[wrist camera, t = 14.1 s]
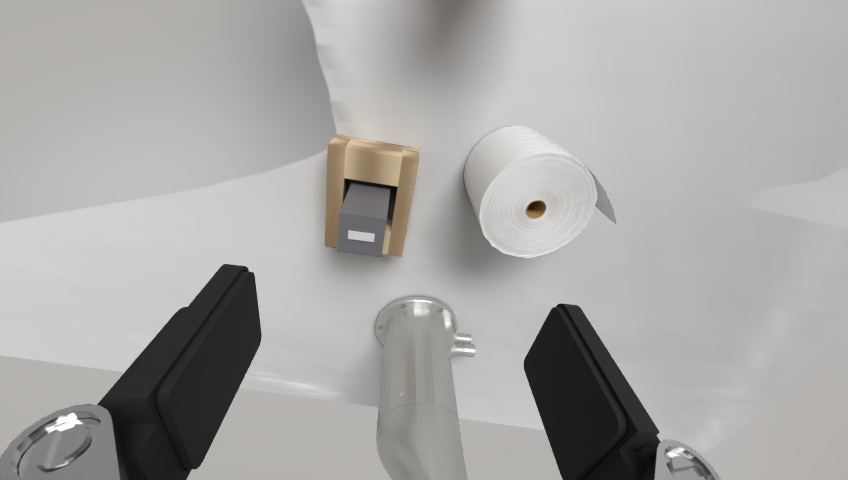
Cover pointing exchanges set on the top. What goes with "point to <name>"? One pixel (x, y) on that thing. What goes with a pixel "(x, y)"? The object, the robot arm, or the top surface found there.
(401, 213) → the bamboo dock
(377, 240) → the block
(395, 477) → the robot arm
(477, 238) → the top surface
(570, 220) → the toilet tissue
